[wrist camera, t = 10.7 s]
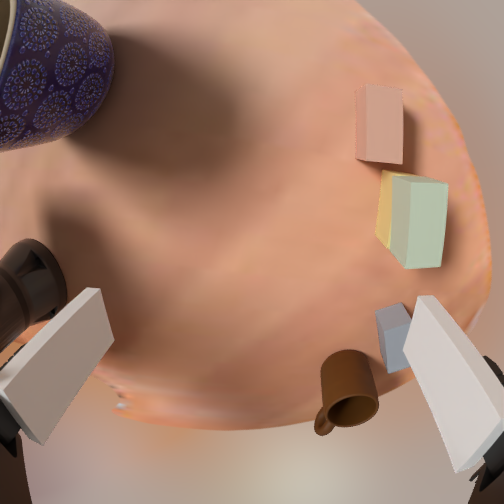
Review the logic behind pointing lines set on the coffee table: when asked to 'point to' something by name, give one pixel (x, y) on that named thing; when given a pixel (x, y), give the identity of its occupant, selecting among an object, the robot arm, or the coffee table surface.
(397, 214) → the sage brick
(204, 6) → the coffee table surface
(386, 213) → the mustard brick
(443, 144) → the coffee table surface
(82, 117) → the planter
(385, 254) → the coffee table surface
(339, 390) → the mug
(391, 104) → the terracotta brick
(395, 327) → the slate brick
